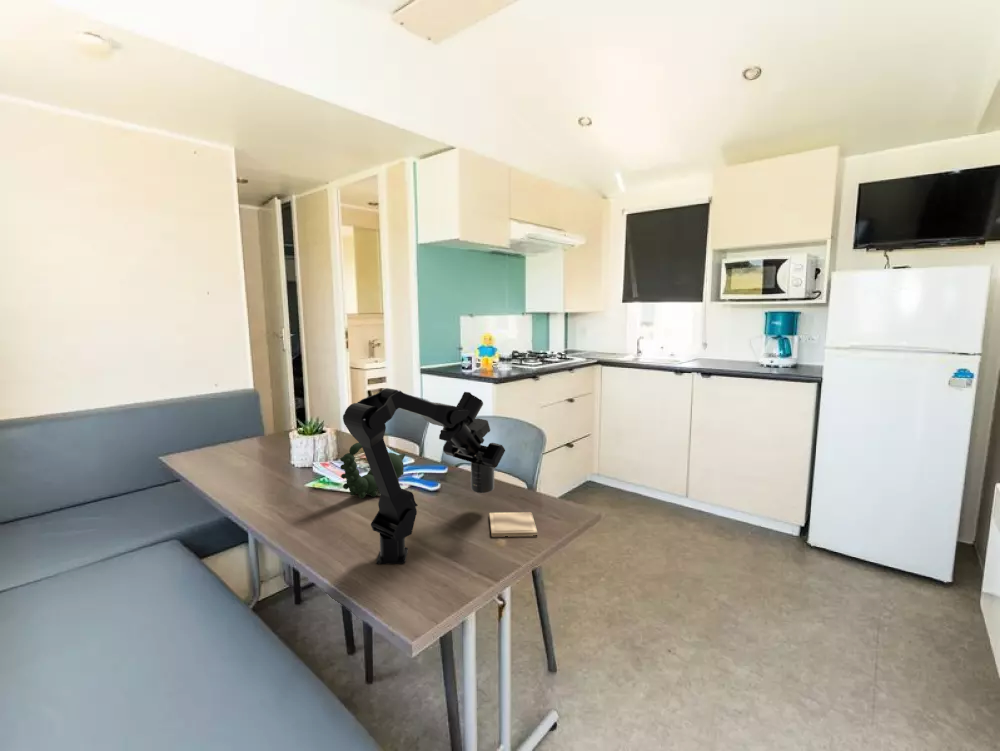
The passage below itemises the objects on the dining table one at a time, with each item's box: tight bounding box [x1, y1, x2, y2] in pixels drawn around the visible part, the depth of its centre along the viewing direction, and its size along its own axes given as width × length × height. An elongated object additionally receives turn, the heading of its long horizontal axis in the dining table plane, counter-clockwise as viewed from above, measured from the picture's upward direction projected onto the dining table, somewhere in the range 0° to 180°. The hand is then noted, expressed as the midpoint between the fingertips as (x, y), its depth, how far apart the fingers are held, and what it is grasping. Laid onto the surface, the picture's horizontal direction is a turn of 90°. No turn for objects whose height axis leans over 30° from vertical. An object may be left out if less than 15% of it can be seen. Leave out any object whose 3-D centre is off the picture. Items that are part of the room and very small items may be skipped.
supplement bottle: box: [470, 453, 495, 494], centre depth 137 cm, size 7×7×12 cm
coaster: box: [489, 511, 538, 538], centre depth 129 cm, size 12×12×1 cm
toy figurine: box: [339, 442, 406, 499], centre depth 150 cm, size 9×19×25 cm
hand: (485, 464), depth 138 cm, fingers closed on supplement bottle, 7 cm apart
